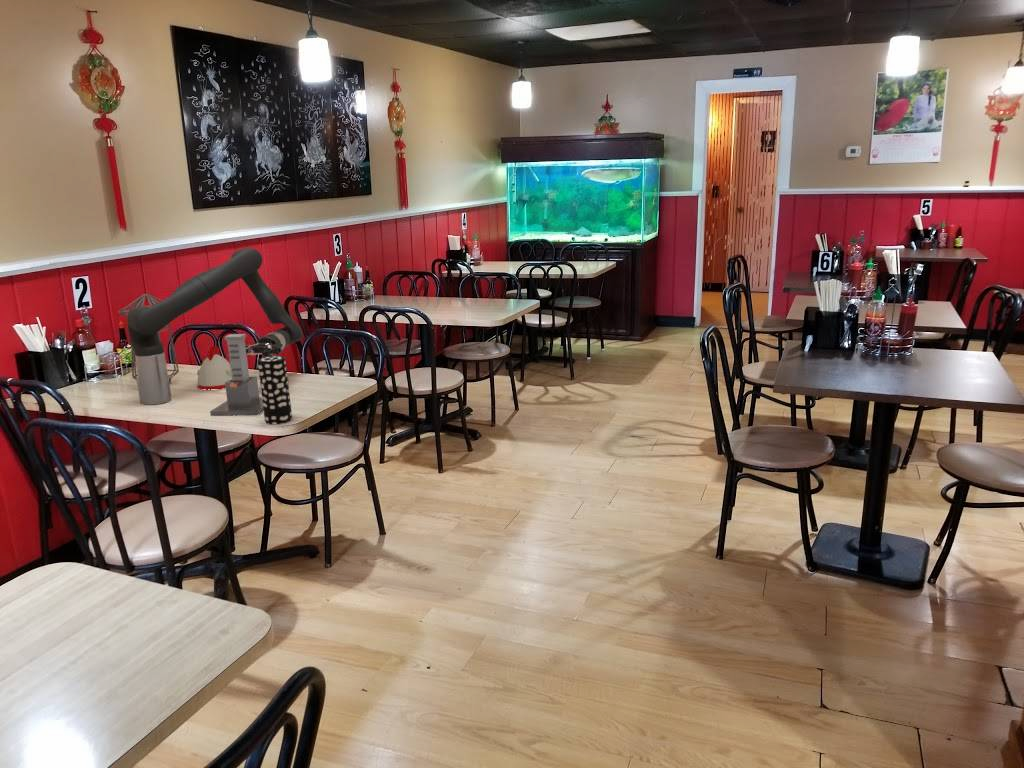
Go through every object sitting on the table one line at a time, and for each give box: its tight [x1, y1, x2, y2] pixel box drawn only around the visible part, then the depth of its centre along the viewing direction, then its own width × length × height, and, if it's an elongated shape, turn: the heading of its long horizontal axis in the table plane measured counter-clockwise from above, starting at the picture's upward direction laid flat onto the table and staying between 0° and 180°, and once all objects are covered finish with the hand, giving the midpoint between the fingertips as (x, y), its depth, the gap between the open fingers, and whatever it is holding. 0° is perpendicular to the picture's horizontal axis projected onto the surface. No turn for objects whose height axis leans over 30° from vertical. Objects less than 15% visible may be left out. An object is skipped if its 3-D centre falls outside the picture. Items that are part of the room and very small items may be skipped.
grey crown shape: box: [196, 345, 232, 391], centre depth 284 cm, size 14×14×15 cm
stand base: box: [209, 376, 264, 417], centre depth 253 cm, size 16×16×10 cm
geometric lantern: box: [118, 293, 180, 385], centre depth 283 cm, size 16×16×35 cm
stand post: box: [224, 333, 250, 382], centre depth 251 cm, size 5×5×23 cm
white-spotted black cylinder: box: [257, 355, 293, 425], centre depth 238 cm, size 8×8×20 cm
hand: (252, 354), depth 261 cm, fingers open, 8 cm apart
